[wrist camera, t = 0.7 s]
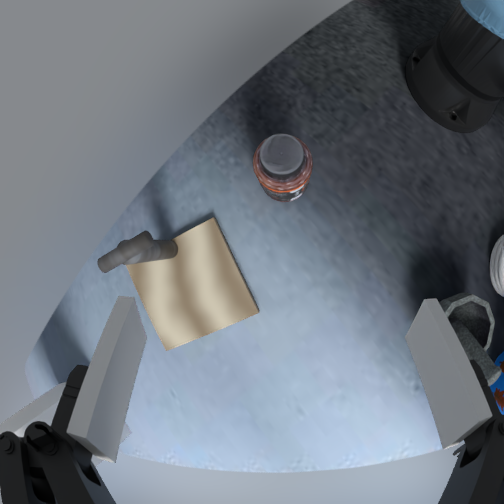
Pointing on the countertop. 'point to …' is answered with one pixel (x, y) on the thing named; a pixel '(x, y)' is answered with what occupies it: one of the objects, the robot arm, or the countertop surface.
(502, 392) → the thermos
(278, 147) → the supplement bottle
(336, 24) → the countertop surface
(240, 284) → the headphone stand
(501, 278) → the white round container
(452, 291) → the countertop surface
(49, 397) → the milk
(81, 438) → the robot arm
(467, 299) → the mortar and pestle
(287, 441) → the countertop surface
